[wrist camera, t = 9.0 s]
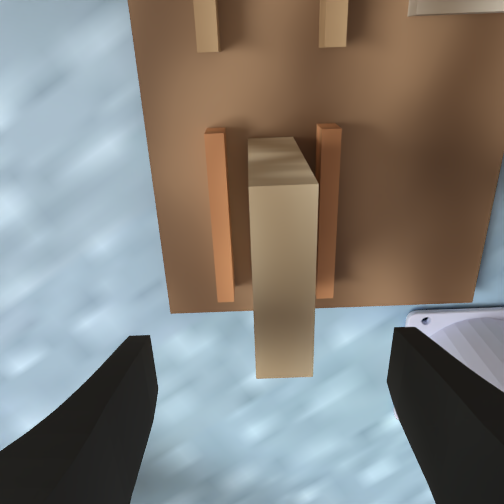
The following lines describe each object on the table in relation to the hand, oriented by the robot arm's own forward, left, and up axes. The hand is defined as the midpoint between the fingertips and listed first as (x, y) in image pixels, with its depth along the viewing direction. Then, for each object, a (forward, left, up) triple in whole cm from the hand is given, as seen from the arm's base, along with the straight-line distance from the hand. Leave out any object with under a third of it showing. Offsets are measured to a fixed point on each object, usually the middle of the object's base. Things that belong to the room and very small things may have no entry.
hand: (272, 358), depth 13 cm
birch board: (-1, -1, -9) cm, 9 cm away
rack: (-3, -7, -10) cm, 13 cm away
